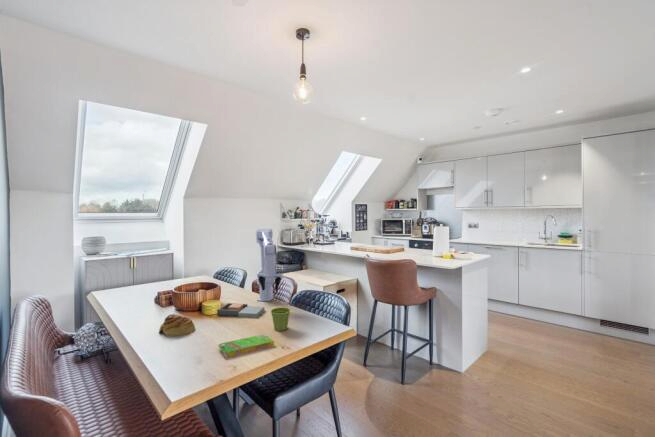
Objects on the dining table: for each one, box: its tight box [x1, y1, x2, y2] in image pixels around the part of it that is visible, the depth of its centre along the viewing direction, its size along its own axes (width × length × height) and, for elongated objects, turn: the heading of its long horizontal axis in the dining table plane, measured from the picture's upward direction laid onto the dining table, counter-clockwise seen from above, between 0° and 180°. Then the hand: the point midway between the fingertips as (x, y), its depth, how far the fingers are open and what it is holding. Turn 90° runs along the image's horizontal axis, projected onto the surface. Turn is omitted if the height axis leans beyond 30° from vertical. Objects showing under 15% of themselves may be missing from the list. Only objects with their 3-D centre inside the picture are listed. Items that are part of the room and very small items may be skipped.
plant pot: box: [270, 307, 292, 332], centre depth 149 cm, size 9×9×9 cm
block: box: [228, 303, 244, 312], centre depth 173 cm, size 6×6×2 cm
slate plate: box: [238, 305, 266, 318], centre depth 170 cm, size 12×10×2 cm
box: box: [216, 302, 248, 318], centre depth 172 cm, size 12×12×3 cm
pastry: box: [158, 314, 196, 337], centre depth 146 cm, size 13×15×8 cm
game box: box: [217, 333, 275, 358], centre depth 129 cm, size 3×10×20 cm
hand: (270, 290), depth 178 cm, fingers open, 7 cm apart
